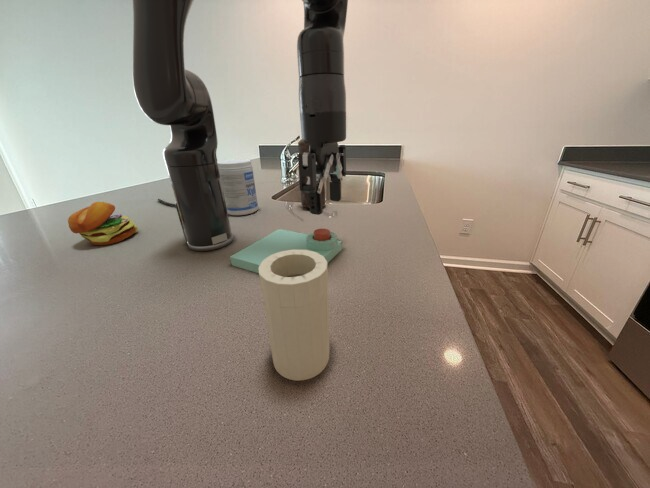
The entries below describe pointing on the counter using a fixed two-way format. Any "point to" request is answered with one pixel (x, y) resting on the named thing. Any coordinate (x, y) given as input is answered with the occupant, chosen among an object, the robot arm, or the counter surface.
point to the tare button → (321, 234)
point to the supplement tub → (238, 186)
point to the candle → (304, 148)
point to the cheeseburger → (101, 224)
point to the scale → (284, 248)
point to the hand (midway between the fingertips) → (326, 206)
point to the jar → (297, 311)
